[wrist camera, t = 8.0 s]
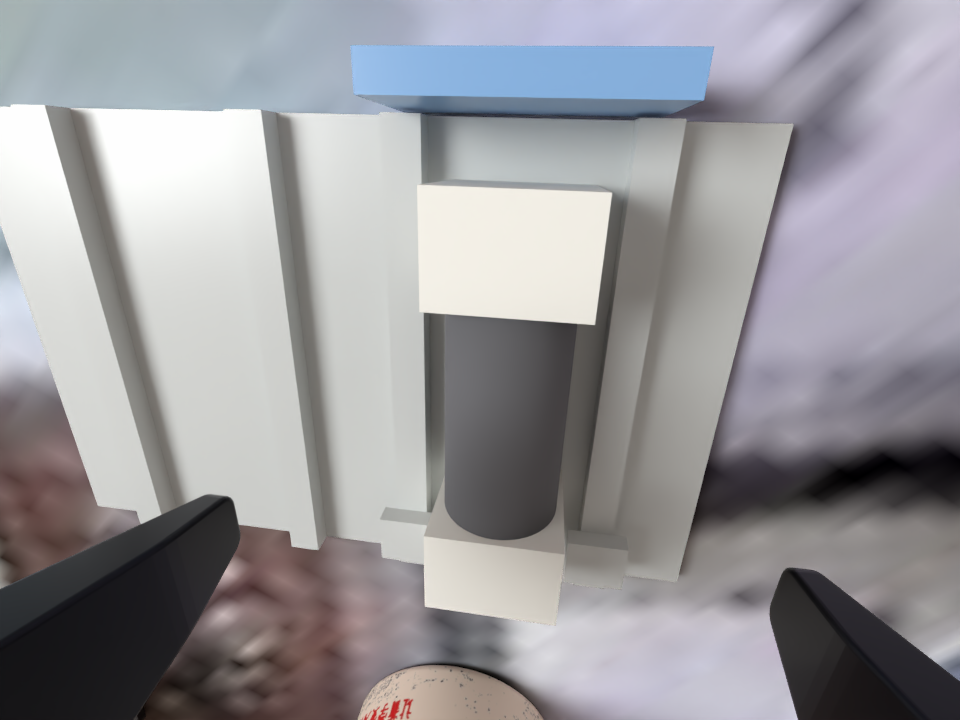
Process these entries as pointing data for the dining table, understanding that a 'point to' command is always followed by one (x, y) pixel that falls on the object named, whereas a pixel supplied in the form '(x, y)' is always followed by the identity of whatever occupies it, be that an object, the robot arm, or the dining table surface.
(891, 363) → the dining table surface
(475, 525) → the cream and grey dumbbell
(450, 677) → the cream lidded jar
